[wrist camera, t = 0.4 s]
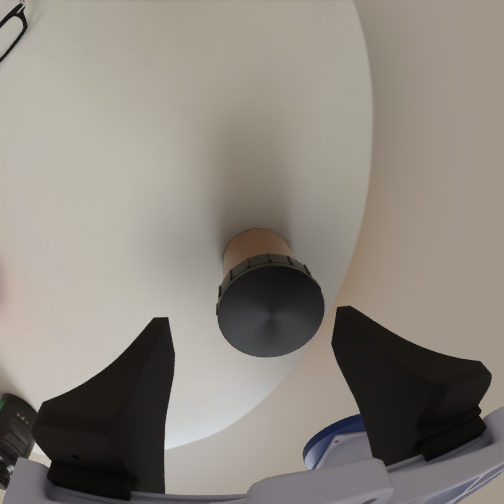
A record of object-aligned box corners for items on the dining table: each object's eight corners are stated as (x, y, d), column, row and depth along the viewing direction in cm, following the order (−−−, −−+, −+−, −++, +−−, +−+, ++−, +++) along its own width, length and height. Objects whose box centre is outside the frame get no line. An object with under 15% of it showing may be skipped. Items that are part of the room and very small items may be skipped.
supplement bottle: (-5, 385, 25) (-45, 449, 14) (36, 404, 26) (0, 477, 15) (9, 418, 28) (-21, 478, 16) (48, 434, 29) (21, 502, 17)
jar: (284, 296, 24) (304, 351, 17) (218, 288, 23) (217, 344, 16) (298, 233, 22) (327, 272, 16) (228, 223, 21) (229, 260, 15)
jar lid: (303, 343, 18) (309, 360, 17) (212, 335, 18) (211, 353, 16) (327, 259, 17) (337, 271, 15) (224, 245, 16) (224, 257, 14)
